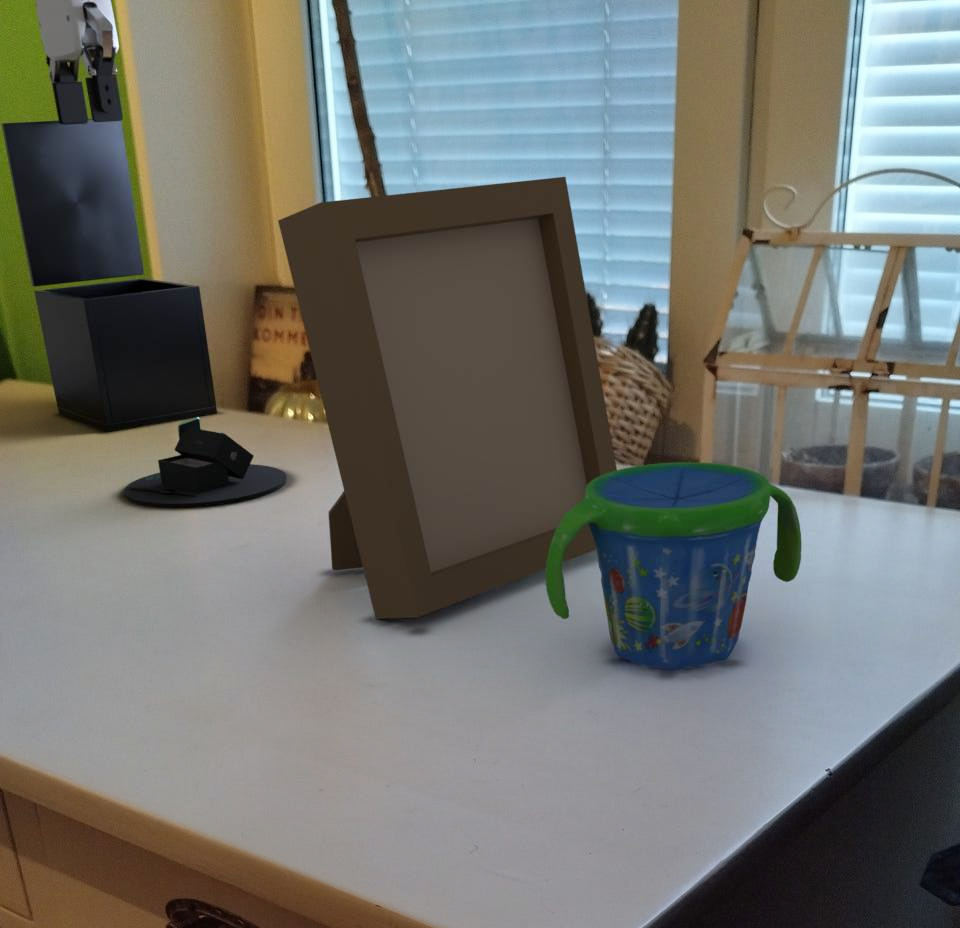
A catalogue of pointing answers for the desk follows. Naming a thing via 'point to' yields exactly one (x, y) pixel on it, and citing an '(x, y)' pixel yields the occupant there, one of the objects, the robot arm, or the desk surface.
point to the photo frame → (451, 383)
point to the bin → (127, 352)
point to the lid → (73, 200)
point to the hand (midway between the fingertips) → (90, 122)
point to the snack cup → (675, 556)
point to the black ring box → (204, 473)
